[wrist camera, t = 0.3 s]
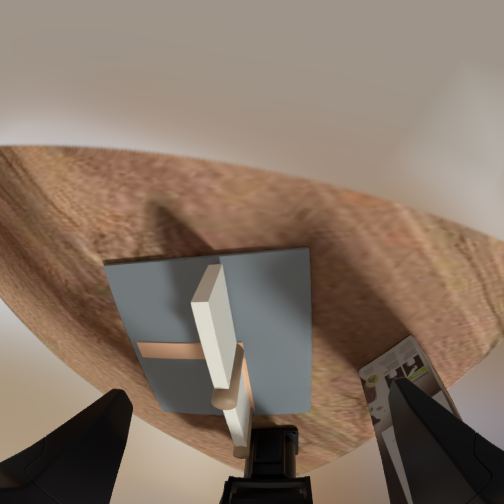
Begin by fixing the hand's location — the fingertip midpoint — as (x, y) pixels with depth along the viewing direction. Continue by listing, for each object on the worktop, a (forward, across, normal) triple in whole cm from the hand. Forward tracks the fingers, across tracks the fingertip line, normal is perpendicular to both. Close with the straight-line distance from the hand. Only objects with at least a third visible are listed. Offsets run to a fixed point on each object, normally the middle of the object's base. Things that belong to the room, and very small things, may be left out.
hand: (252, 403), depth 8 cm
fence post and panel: (+13, +4, +12) cm, 18 cm away
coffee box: (+14, -12, +14) cm, 23 cm away
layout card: (+13, +5, +9) cm, 17 cm away
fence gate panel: (+12, +3, +4) cm, 13 cm away
